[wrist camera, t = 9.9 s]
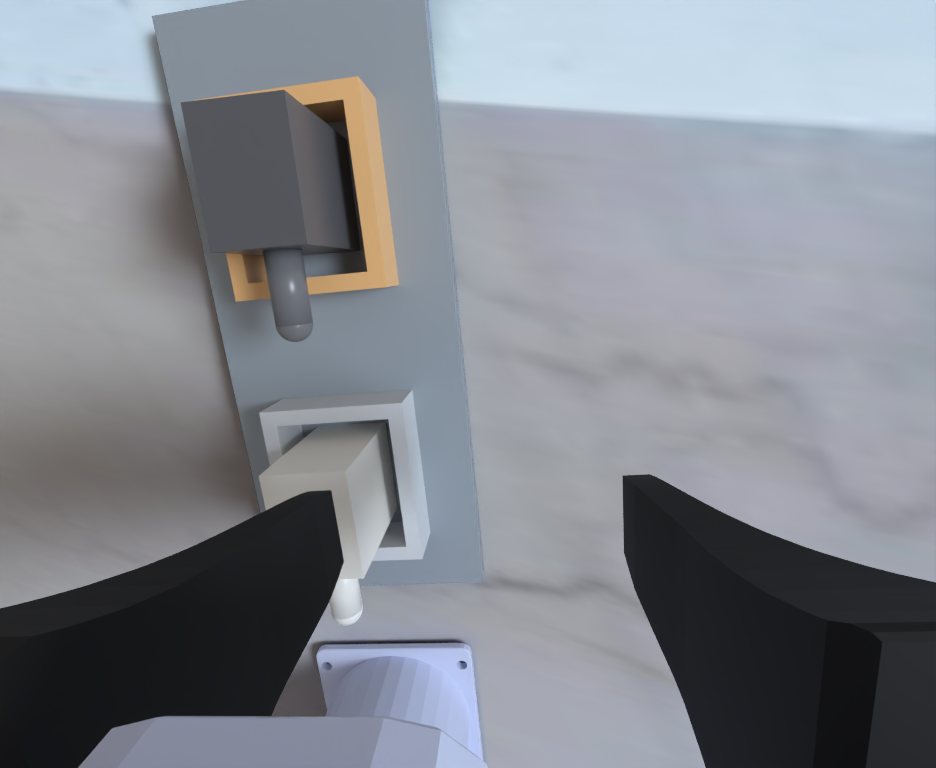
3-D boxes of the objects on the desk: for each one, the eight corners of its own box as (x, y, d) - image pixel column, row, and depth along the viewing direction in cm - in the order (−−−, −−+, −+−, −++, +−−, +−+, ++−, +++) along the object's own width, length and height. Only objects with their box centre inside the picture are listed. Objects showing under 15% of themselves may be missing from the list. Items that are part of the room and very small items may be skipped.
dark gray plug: (370, 326, 19) (322, 346, 14) (300, 331, 19) (230, 352, 14) (346, 139, 17) (283, 89, 13) (270, 147, 18) (180, 102, 13)
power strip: (483, 568, 22) (475, 673, 17) (286, 574, 23) (213, 675, 18) (426, -13, 17) (383, -160, 11) (171, 29, 18) (9, -85, 12)
